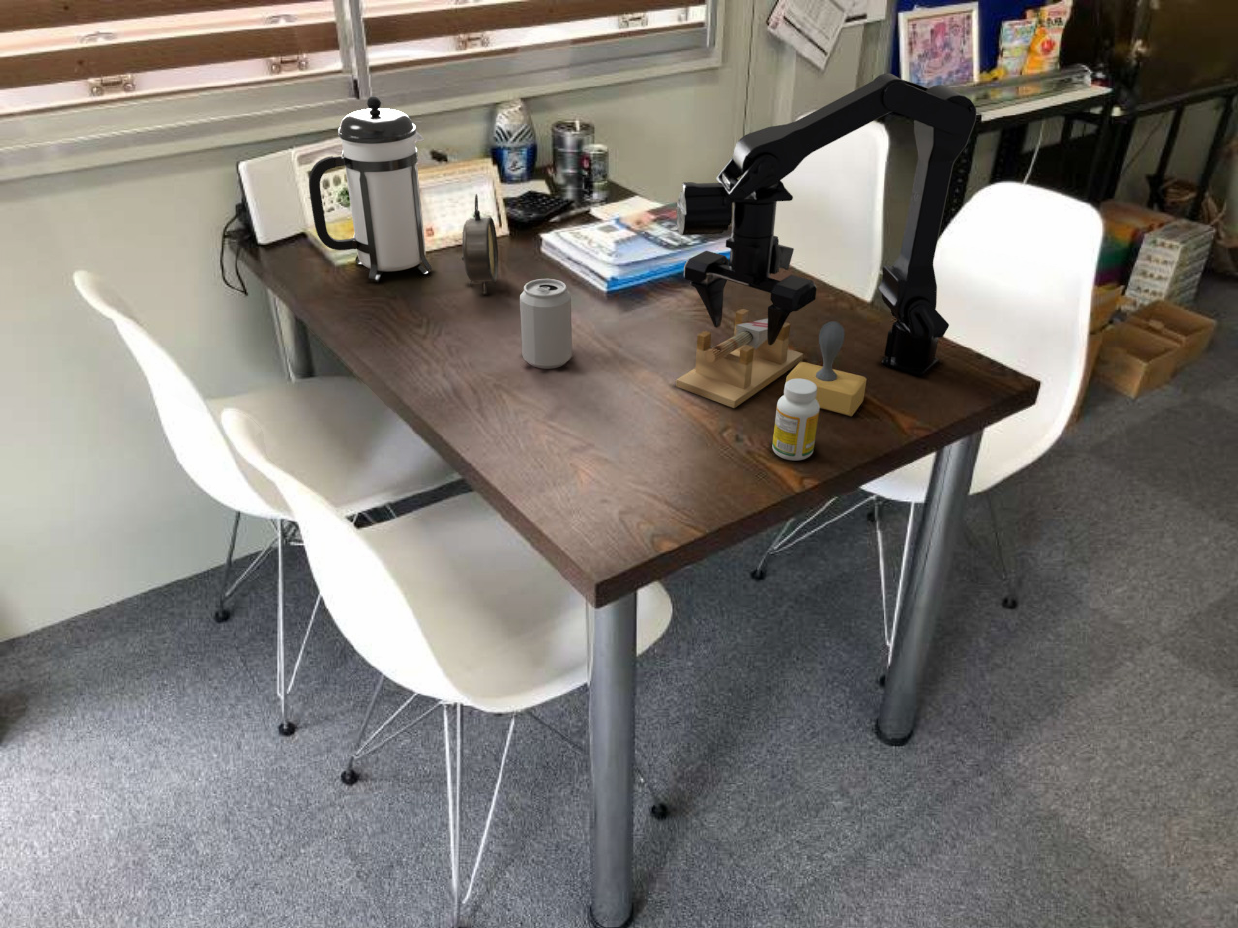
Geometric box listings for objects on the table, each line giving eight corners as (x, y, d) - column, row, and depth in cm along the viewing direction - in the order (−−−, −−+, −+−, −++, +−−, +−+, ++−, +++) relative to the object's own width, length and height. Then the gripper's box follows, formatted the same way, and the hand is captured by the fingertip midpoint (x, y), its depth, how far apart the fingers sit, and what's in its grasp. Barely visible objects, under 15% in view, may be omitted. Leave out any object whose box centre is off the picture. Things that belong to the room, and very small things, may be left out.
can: (580, 354, 154) (579, 281, 147) (557, 375, 148) (555, 299, 142) (537, 345, 156) (535, 272, 150) (513, 365, 151) (509, 290, 144)
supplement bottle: (777, 462, 129) (784, 396, 123) (767, 440, 133) (774, 376, 128) (818, 460, 129) (827, 395, 124) (807, 439, 134) (816, 375, 128)
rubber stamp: (783, 399, 142) (791, 322, 136) (797, 383, 147) (806, 307, 140) (850, 417, 138) (863, 338, 132) (863, 399, 143) (876, 322, 136)
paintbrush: (790, 314, 152) (722, 351, 137) (787, 331, 153) (719, 369, 139) (768, 308, 154) (698, 343, 139) (765, 325, 155) (696, 361, 141)
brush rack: (802, 360, 153) (808, 317, 149) (734, 408, 140) (738, 362, 136) (746, 342, 158) (750, 299, 154) (676, 386, 145) (678, 341, 142)
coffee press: (378, 247, 191) (357, 82, 174) (450, 260, 186) (436, 91, 169) (320, 280, 177) (292, 104, 161) (397, 295, 172) (376, 115, 156)
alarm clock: (493, 298, 171) (487, 205, 163) (462, 297, 172) (454, 204, 163) (500, 273, 181) (495, 184, 172) (470, 273, 181) (464, 183, 172)
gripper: (842, 231, 138) (828, 334, 146) (728, 202, 148) (721, 301, 156) (801, 253, 130) (789, 361, 139) (683, 222, 140) (679, 324, 149)
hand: (743, 335), depth 146 cm, fingers open, 9 cm apart
